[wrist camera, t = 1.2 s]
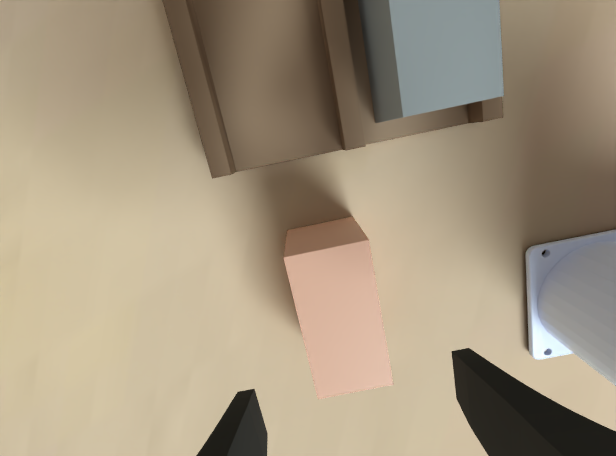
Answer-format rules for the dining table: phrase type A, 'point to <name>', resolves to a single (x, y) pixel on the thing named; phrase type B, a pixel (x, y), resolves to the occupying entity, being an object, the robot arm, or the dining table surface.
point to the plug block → (338, 307)
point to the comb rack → (286, 81)
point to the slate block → (431, 54)
